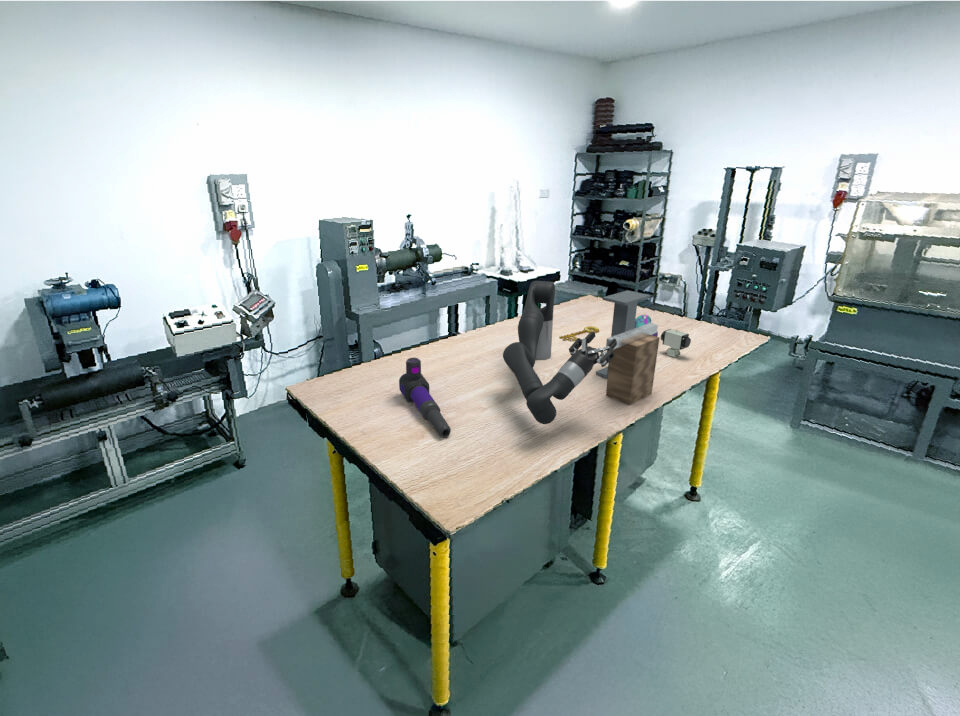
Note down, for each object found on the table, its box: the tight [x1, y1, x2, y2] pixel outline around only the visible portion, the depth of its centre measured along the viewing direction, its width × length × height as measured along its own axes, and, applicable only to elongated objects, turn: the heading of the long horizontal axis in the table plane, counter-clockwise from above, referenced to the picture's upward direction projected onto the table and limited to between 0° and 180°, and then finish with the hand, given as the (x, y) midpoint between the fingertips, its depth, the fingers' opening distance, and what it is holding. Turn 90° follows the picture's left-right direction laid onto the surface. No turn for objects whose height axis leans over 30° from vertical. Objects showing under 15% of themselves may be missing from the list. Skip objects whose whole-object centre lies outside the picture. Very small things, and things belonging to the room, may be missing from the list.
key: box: [558, 325, 600, 343], centre depth 241 cm, size 11×25×2 cm, turn 132°
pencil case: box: [634, 314, 659, 337], centre depth 236 cm, size 21×9×10 cm, turn 171°
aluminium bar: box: [605, 322, 659, 349], centre depth 171 cm, size 26×3×3 cm, turn 130°
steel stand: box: [595, 290, 651, 380], centre depth 192 cm, size 16×10×32 cm, turn 130°
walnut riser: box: [605, 335, 661, 406], centre depth 177 cm, size 14×10×22 cm
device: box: [398, 357, 452, 438], centre depth 166 cm, size 9×36×15 cm, turn 25°
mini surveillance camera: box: [660, 328, 692, 359], centre depth 214 cm, size 6×12×12 cm, turn 38°
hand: (604, 336), depth 160 cm, fingers open, 8 cm apart
